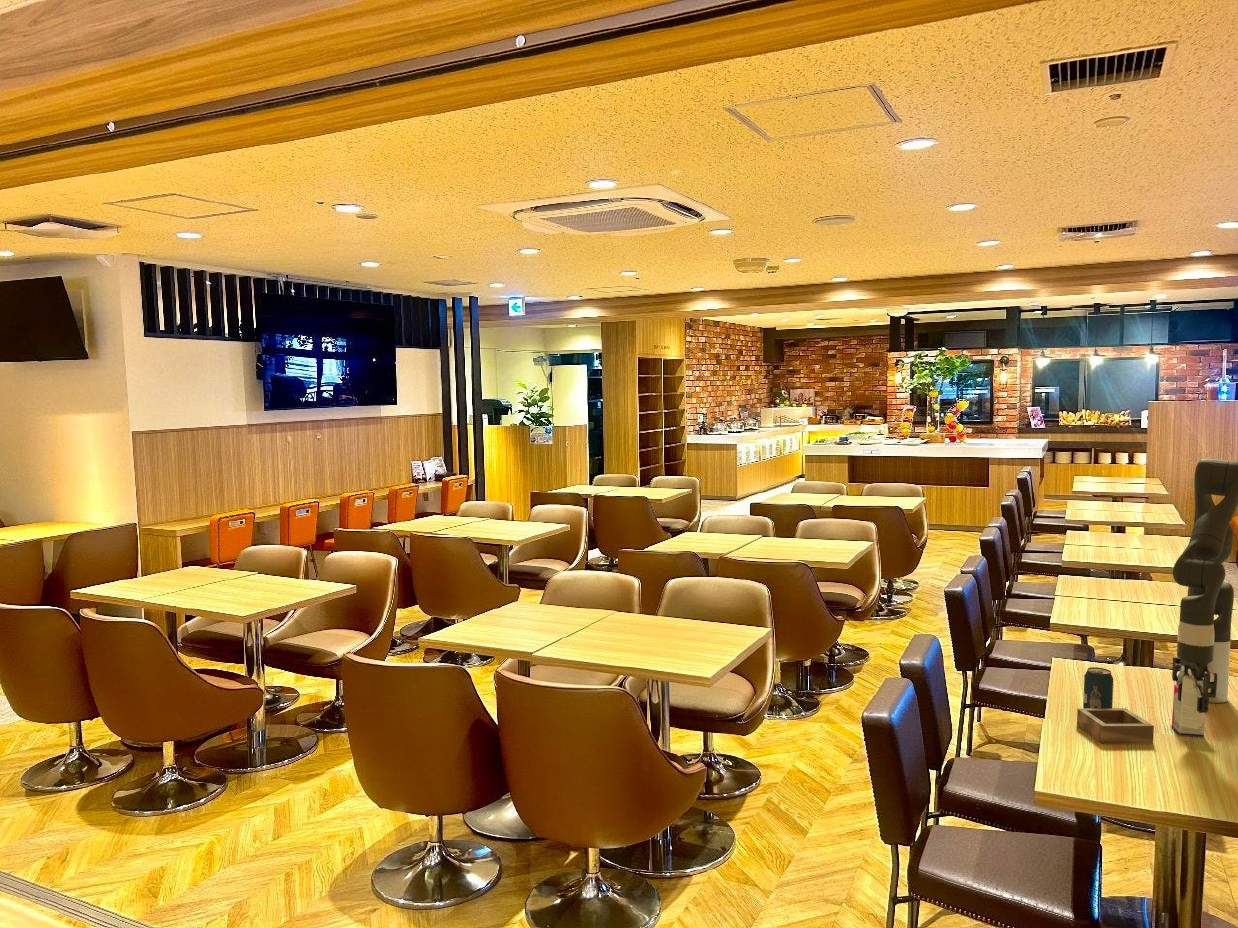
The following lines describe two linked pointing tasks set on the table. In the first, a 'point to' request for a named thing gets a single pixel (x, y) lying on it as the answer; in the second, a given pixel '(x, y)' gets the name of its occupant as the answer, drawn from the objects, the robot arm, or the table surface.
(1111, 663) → the table surface
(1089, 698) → the soda can
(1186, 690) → the skincare box
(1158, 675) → the table surface
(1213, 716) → the table surface
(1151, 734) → the brown wooden square frame
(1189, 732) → the supplement box
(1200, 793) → the table surface
